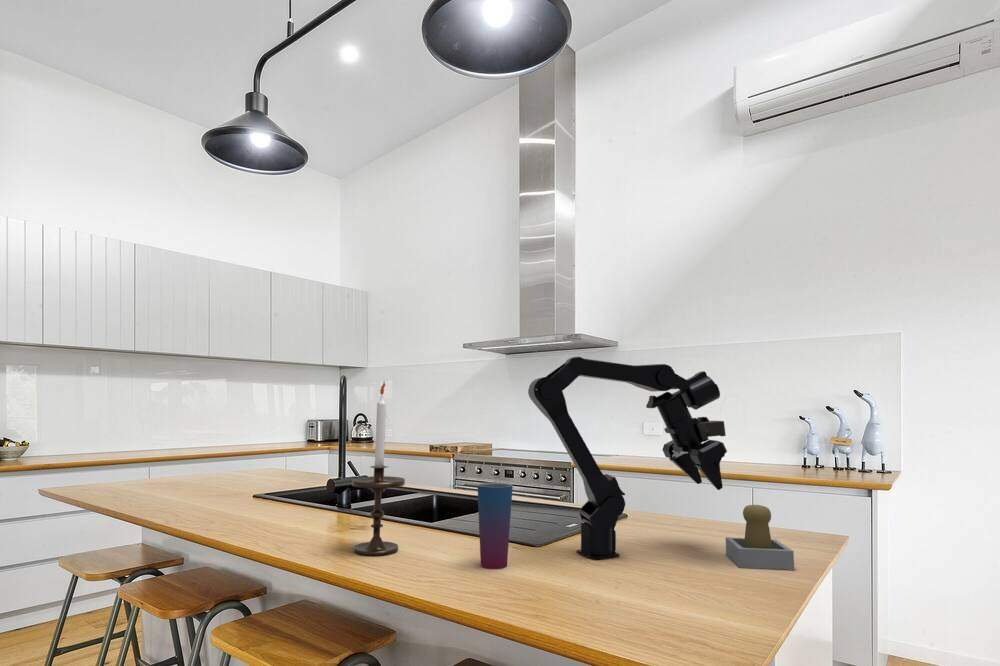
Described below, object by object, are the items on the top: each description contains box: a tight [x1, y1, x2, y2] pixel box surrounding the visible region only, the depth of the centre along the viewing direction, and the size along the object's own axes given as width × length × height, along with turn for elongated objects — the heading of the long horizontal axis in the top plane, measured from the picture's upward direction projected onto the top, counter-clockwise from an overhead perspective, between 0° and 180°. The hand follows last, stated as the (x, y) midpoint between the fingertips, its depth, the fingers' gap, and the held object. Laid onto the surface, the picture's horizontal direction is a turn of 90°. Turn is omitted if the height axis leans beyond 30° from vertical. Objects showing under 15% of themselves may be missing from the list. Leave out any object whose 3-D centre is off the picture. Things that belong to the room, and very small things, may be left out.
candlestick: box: [351, 380, 406, 557], centre depth 125 cm, size 11×11×35 cm
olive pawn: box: [742, 504, 773, 549], centre depth 119 cm, size 6×6×11 cm
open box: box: [725, 536, 795, 571], centre depth 119 cm, size 10×10×4 cm
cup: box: [477, 481, 514, 570], centre depth 114 cm, size 7×7×15 cm
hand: (709, 486), depth 127 cm, fingers open, 9 cm apart
